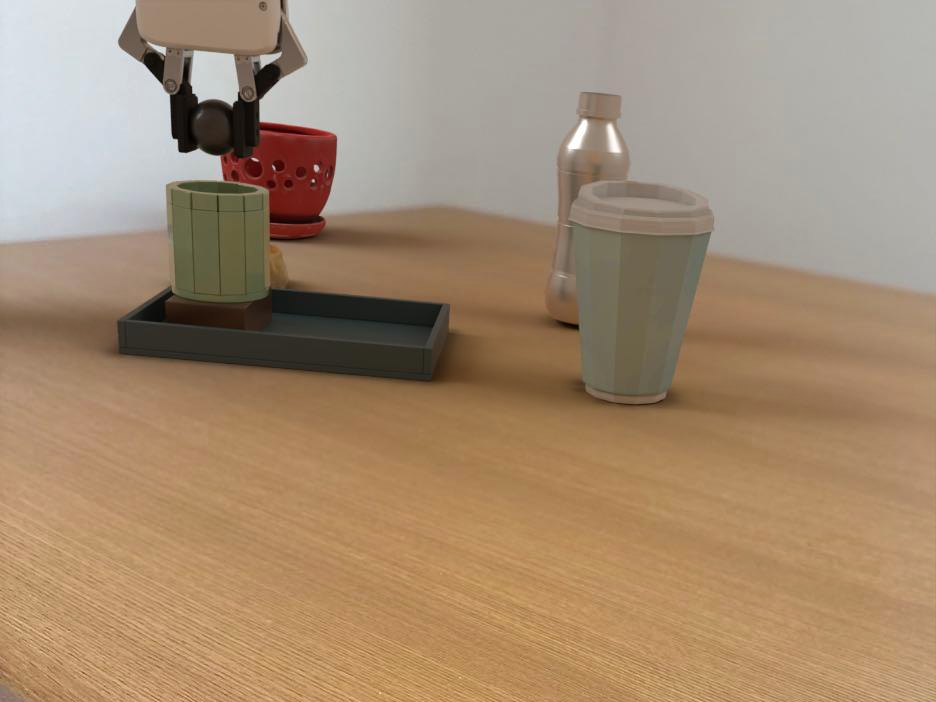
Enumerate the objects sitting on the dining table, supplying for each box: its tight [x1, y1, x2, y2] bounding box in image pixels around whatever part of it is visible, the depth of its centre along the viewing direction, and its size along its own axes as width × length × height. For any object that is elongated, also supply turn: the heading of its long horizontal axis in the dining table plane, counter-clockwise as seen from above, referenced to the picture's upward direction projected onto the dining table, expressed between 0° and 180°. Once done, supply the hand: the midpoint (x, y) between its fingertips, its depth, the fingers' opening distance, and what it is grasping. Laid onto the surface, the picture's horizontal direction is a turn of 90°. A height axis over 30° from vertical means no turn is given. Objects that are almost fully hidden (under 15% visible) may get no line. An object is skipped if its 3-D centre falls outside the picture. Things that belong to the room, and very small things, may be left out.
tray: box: [116, 284, 451, 382], centre depth 90 cm, size 23×15×2 cm, turn 89°
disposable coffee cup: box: [568, 180, 716, 405], centre depth 83 cm, size 11×11×15 cm
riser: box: [165, 284, 272, 331], centre depth 90 cm, size 6×9×3 cm, turn 179°
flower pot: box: [219, 121, 338, 240], centre depth 131 cm, size 13×13×12 cm
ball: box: [189, 98, 234, 157], centre depth 84 cm, size 4×4×4 cm
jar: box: [165, 179, 271, 303], centre depth 88 cm, size 7×7×8 cm
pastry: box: [270, 244, 289, 289], centre depth 106 cm, size 9×7×4 cm
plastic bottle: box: [544, 91, 631, 327], centre depth 101 cm, size 6×7×20 cm
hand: (216, 151), depth 85 cm, fingers closed on ball, 3 cm apart
